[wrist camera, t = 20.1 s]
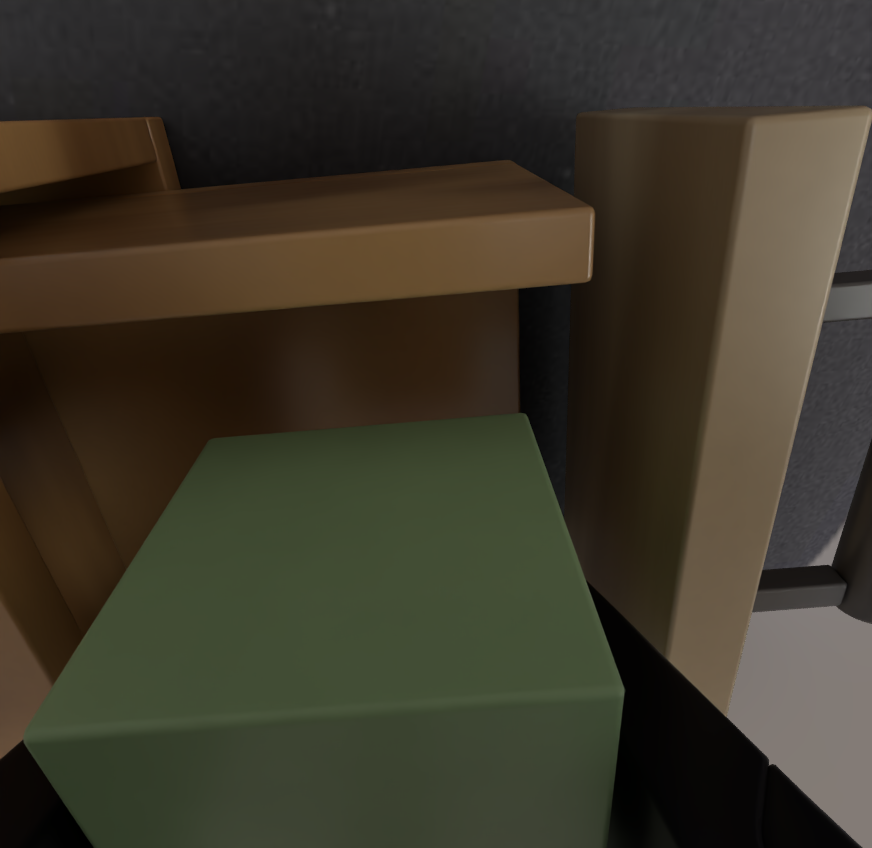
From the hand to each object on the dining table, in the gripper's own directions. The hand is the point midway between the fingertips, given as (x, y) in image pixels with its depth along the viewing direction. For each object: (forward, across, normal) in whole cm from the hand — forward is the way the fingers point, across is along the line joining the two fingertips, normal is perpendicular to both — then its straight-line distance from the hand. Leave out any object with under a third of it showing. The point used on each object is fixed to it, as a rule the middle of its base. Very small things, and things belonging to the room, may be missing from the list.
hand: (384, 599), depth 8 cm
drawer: (+7, -1, 0) cm, 7 cm away
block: (+1, 0, 0) cm, 1 cm away
